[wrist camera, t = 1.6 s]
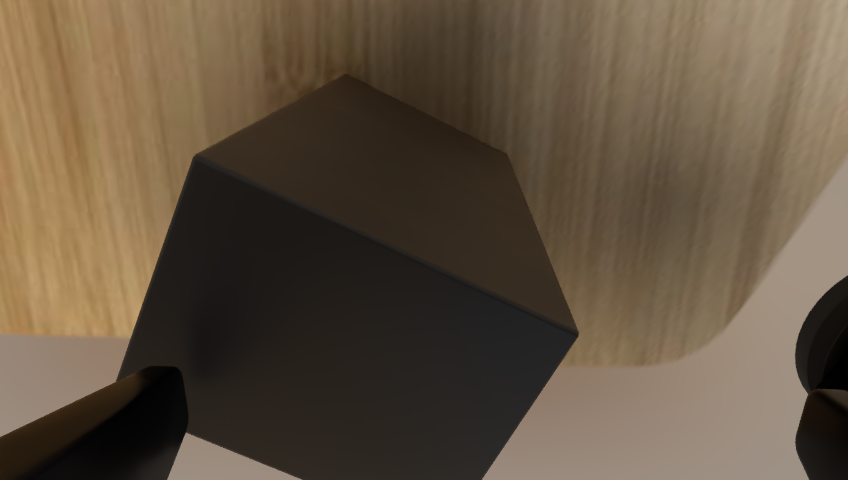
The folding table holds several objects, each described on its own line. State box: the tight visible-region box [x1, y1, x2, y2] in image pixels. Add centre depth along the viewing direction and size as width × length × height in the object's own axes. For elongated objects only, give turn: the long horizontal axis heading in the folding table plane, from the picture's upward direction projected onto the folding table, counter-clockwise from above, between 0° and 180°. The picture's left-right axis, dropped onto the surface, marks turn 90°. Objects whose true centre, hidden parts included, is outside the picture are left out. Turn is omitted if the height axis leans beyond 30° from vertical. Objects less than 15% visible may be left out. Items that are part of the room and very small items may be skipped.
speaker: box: [116, 74, 579, 480], centre depth 15 cm, size 6×4×12 cm
